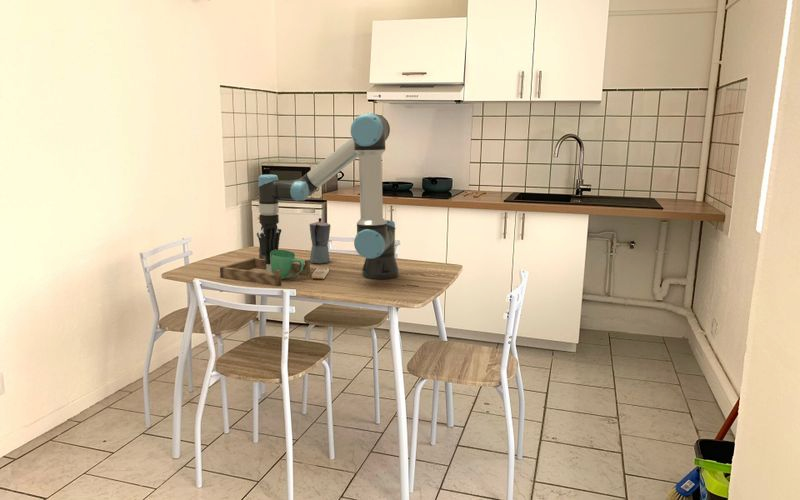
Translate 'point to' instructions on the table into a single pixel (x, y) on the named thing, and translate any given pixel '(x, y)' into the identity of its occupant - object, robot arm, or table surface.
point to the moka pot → (319, 242)
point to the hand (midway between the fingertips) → (270, 271)
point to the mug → (284, 262)
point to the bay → (242, 272)
